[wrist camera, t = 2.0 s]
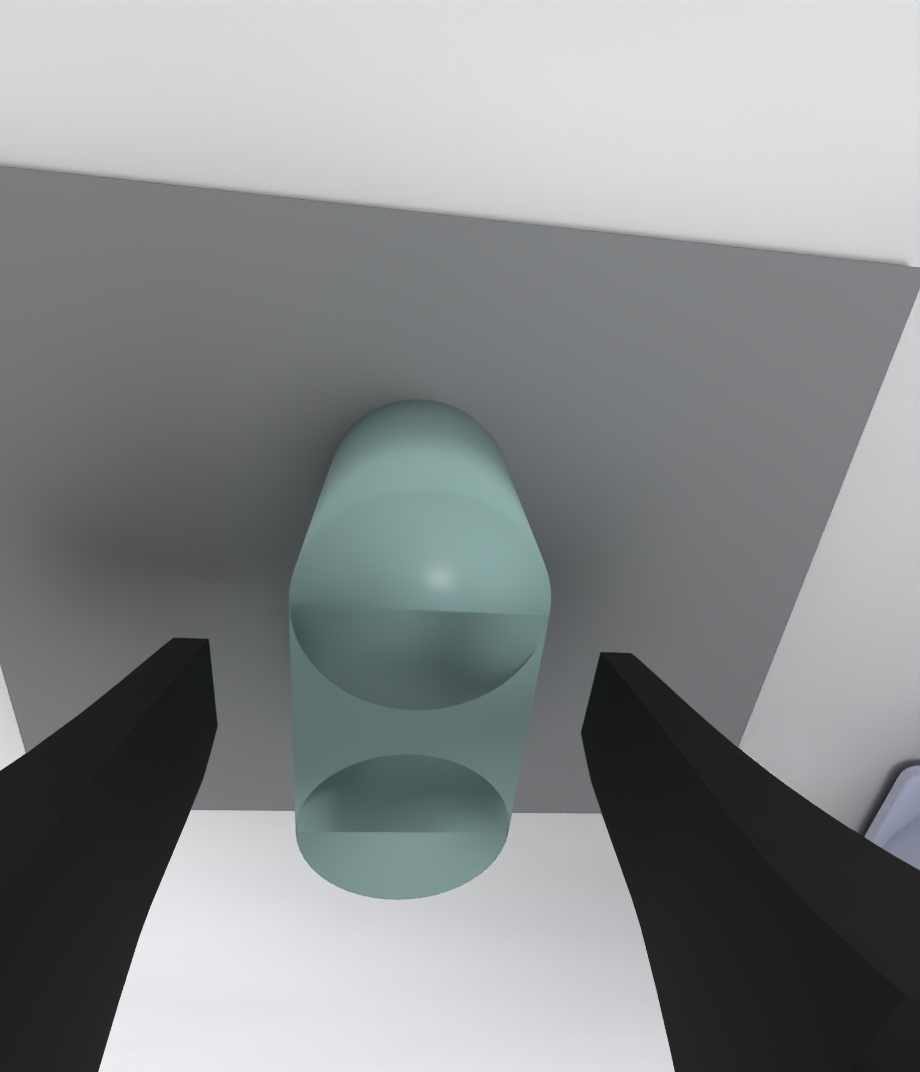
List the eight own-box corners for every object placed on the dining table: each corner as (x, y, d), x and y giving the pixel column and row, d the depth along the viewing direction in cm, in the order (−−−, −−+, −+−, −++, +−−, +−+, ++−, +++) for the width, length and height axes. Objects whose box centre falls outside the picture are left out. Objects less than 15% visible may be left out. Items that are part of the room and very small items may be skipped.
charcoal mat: (910, 266, 13) (927, 267, 13) (704, 801, 20) (711, 814, 20) (-126, 153, 11) (-149, 149, 10) (51, 794, 18) (41, 808, 17)
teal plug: (329, 392, 13) (284, 479, 8) (518, 407, 13) (572, 498, 9) (328, 784, 18) (300, 970, 13) (465, 786, 18) (482, 967, 14)
